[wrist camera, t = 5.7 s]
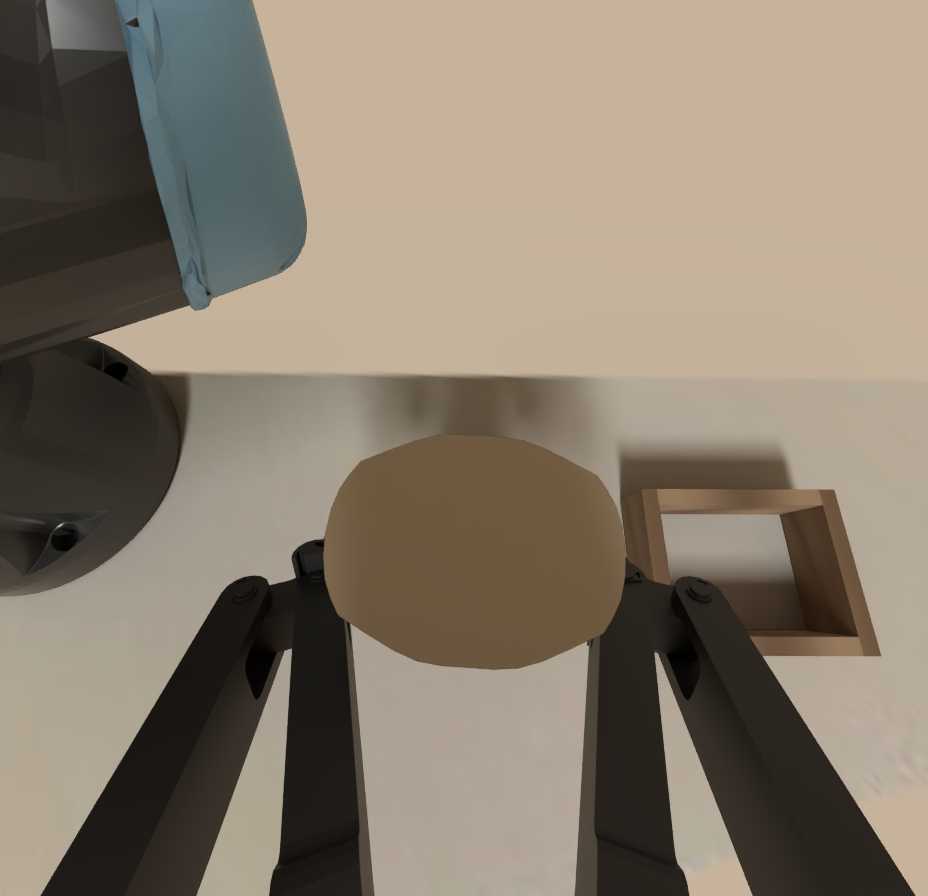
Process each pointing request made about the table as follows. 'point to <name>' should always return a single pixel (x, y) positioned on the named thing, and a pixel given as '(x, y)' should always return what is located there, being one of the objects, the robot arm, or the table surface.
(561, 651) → the handle
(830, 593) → the socket block
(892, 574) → the table surface
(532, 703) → the table surface
